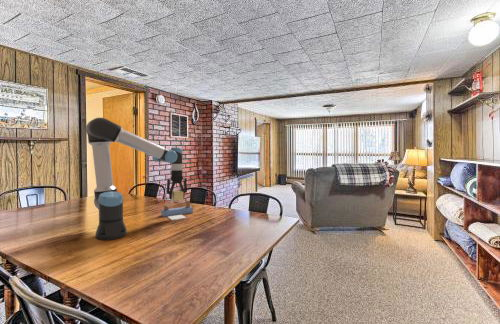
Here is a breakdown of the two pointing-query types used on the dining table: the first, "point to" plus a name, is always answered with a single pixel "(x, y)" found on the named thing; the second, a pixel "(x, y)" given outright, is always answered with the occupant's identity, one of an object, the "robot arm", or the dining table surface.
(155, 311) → the dining table surface
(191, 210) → the plane body
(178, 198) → the lever cap
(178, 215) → the felt mat
